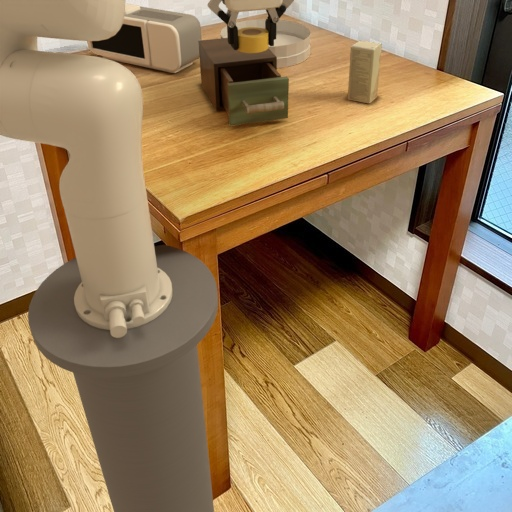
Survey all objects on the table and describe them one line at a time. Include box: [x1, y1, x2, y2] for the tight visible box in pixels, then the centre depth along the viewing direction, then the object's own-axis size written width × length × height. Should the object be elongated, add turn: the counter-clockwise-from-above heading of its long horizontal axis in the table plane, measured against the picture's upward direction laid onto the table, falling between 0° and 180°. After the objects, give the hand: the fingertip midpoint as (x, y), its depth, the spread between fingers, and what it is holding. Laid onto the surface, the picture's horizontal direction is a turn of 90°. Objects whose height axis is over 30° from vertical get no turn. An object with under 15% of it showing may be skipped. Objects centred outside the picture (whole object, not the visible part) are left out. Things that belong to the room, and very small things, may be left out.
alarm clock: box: [86, 2, 203, 74], centre depth 139 cm, size 27×9×12 cm, turn 60°
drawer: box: [218, 62, 290, 127], centre depth 114 cm, size 18×11×8 cm, turn 16°
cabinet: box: [198, 37, 278, 112], centre depth 123 cm, size 15×13×10 cm
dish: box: [220, 18, 312, 69], centre depth 145 cm, size 22×22×5 cm
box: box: [347, 40, 383, 104], centre depth 120 cm, size 5×4×11 cm
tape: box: [237, 27, 269, 53], centre depth 108 cm, size 6×6×3 cm
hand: (252, 44), depth 108 cm, fingers closed on tape, 6 cm apart
